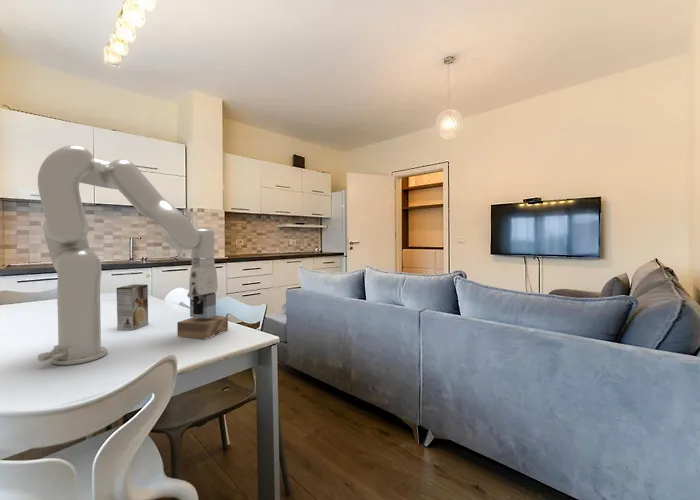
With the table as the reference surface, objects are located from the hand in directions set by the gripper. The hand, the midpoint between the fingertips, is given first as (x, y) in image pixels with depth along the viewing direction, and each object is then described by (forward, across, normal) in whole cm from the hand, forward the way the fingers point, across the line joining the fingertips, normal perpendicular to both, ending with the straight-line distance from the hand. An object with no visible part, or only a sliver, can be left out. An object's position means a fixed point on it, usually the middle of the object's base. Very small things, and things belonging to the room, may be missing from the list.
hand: (203, 312), depth 122 cm
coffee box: (+8, -1, +31) cm, 32 cm away
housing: (+2, 0, 0) cm, 2 cm away
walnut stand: (+8, 0, 0) cm, 8 cm away
